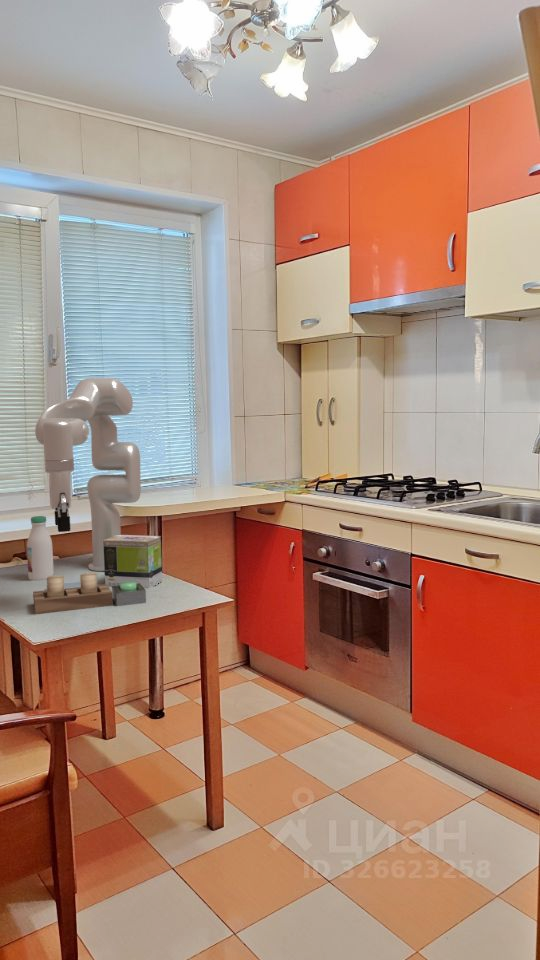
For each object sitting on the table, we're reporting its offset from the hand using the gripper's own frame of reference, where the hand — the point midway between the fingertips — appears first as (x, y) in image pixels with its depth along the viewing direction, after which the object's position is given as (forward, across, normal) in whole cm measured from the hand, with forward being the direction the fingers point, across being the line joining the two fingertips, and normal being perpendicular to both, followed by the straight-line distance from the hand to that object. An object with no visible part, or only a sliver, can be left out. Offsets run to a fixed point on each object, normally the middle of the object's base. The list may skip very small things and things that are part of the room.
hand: (62, 527), depth 193 cm
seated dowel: (+21, +3, +6) cm, 22 cm away
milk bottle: (+22, -33, -5) cm, 40 cm away
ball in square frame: (+22, +5, +16) cm, 28 cm away
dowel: (+21, +3, -3) cm, 21 cm away
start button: (+19, +5, +16) cm, 26 cm away
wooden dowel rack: (+22, +3, +1) cm, 22 cm away
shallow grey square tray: (+22, -10, +2) cm, 24 cm away
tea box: (+22, -14, +21) cm, 34 cm away
